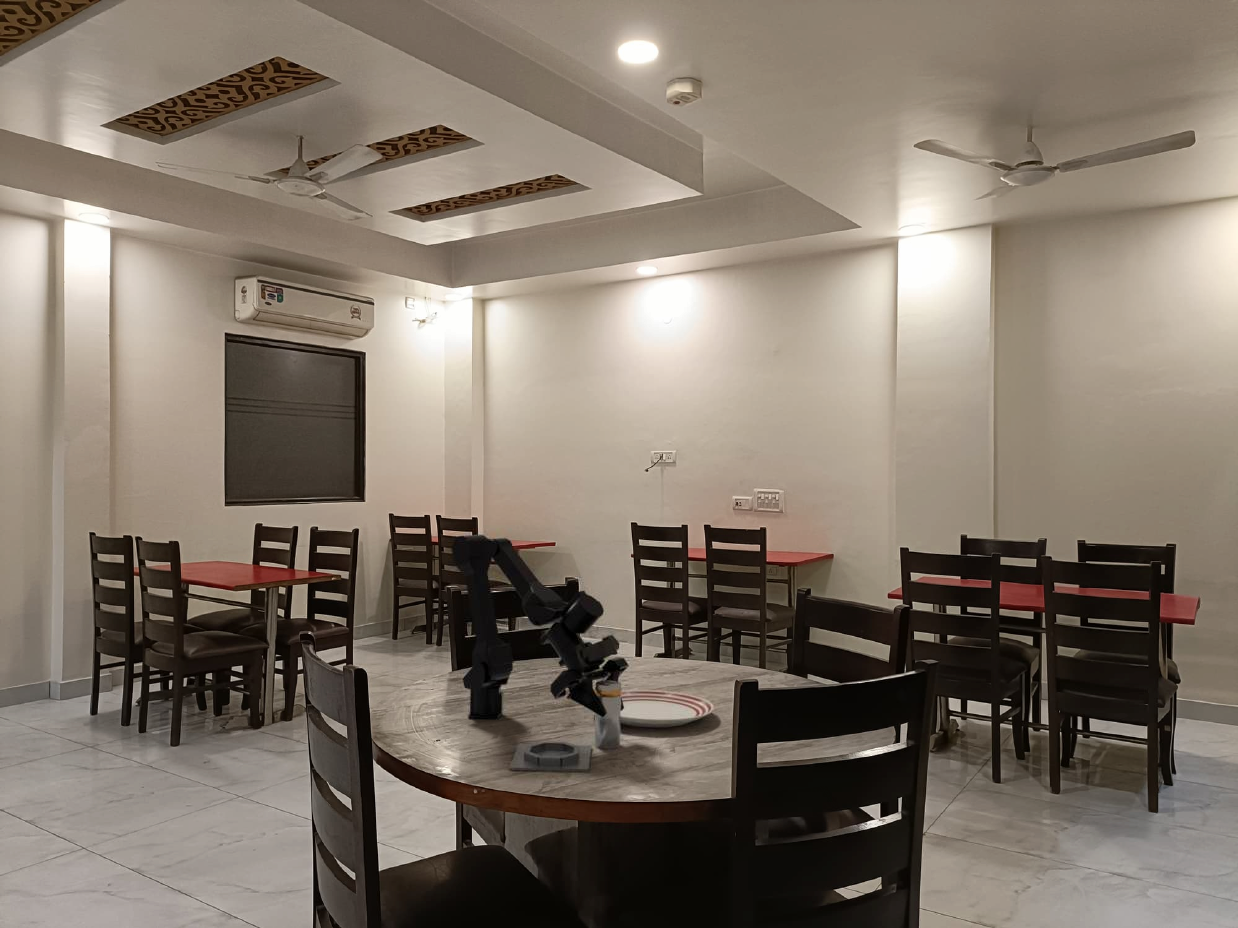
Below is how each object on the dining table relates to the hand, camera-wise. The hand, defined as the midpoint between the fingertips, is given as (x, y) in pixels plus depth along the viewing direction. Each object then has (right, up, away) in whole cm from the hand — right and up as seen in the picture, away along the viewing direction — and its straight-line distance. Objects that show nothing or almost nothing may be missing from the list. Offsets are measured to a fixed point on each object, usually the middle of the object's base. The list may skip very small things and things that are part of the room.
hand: (613, 712), depth 175 cm
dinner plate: (+8, -7, +23) cm, 25 cm away
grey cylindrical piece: (-1, -7, +1) cm, 7 cm away
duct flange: (-11, -6, -8) cm, 15 cm away
